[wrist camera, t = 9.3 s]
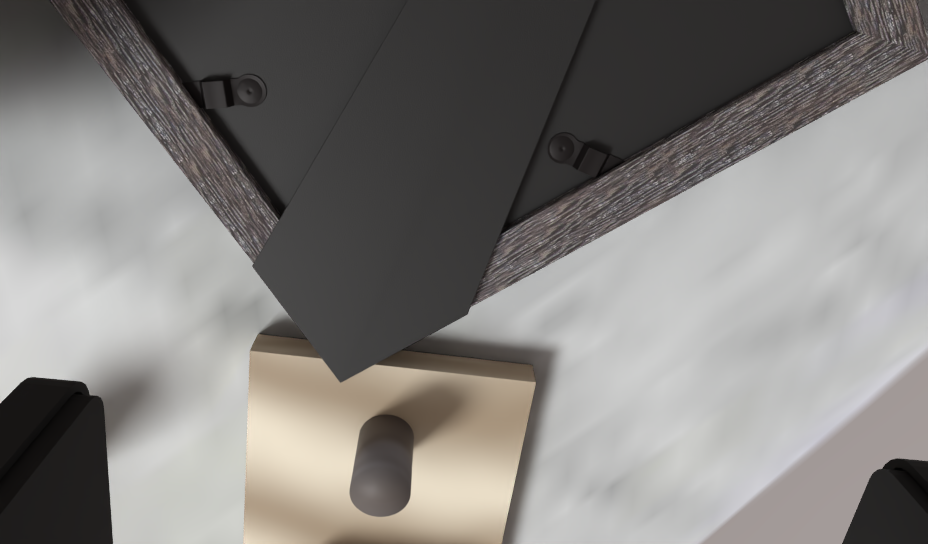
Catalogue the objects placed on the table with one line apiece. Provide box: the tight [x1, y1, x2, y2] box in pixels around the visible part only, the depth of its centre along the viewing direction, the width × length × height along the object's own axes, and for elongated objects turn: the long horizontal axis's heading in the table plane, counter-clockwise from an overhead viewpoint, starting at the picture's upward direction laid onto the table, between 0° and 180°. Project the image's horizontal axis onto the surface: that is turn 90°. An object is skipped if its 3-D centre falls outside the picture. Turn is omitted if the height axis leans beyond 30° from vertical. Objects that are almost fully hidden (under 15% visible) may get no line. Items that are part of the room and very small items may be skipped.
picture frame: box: [50, 0, 928, 383], centre depth 21 cm, size 16×2×21 cm
